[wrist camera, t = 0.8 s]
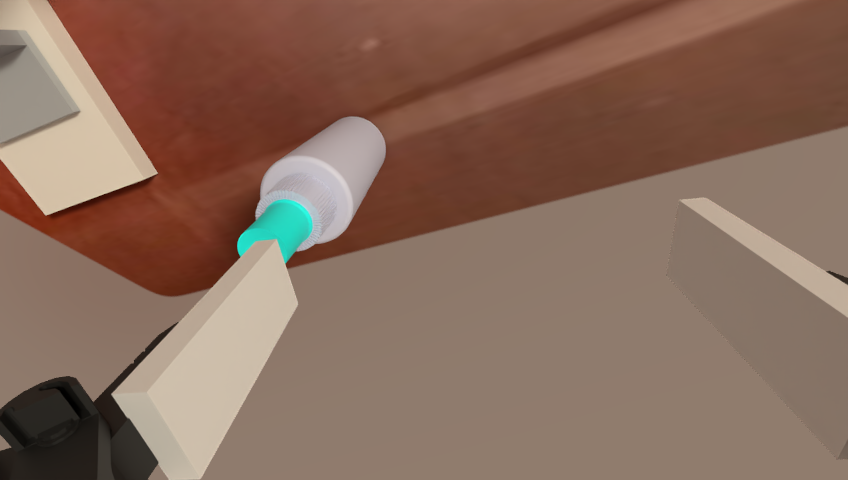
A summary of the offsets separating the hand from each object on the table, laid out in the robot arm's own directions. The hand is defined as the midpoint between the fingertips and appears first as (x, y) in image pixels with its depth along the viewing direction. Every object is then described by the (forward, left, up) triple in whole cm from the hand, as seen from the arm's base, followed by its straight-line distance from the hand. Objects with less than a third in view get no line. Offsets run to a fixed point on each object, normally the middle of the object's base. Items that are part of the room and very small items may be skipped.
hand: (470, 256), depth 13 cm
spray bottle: (-1, -10, -27) cm, 29 cm away
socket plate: (-14, -38, -27) cm, 48 cm away
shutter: (-16, -38, -25) cm, 48 cm away
